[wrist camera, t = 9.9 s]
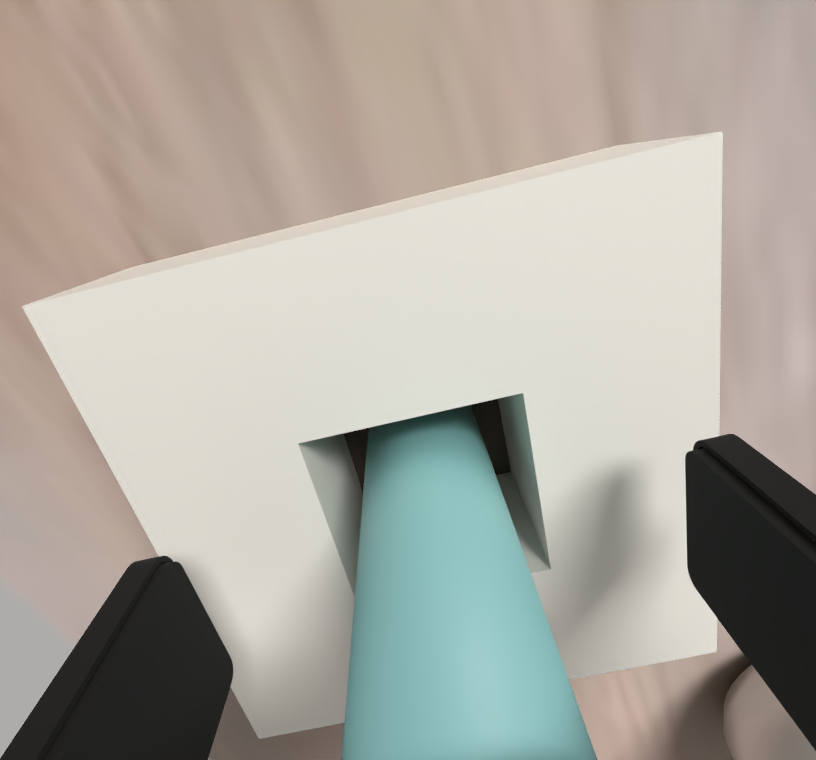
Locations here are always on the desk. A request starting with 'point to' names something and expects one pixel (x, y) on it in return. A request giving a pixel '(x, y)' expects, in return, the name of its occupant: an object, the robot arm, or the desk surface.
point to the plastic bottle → (760, 723)
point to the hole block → (421, 402)
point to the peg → (449, 611)
